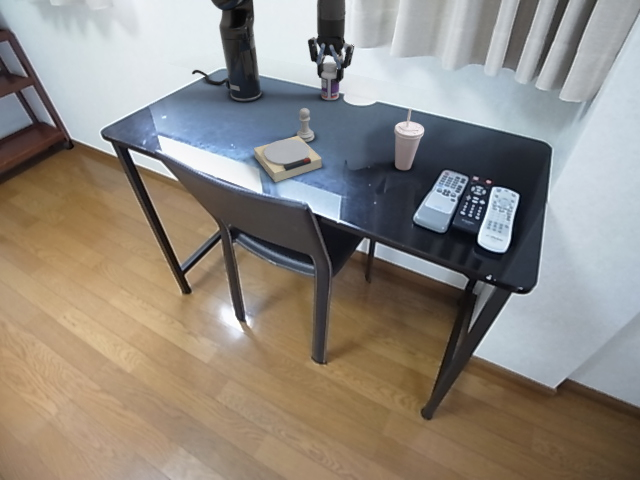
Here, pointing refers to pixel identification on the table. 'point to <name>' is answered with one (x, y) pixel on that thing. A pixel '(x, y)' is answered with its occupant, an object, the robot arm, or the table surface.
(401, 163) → the smoothie
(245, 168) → the table surface
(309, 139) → the chess piece
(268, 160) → the scale
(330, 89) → the pill bottle
